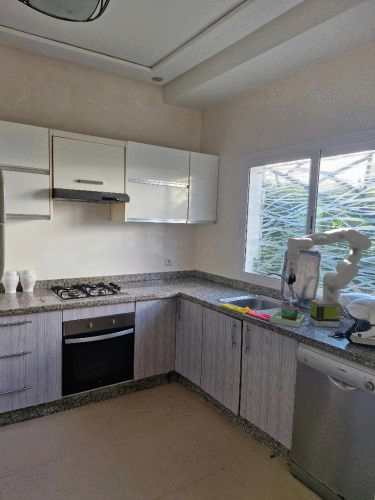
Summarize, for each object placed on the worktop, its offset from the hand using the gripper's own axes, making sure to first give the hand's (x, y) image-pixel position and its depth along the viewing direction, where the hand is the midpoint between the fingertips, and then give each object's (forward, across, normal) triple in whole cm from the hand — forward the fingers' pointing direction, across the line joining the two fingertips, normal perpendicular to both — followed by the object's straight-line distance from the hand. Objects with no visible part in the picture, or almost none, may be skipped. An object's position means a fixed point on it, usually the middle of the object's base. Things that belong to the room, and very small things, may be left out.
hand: (291, 283), depth 227 cm
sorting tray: (+24, -7, +1) cm, 25 cm away
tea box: (+24, 0, -21) cm, 32 cm away
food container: (+23, -9, 0) cm, 25 cm away
